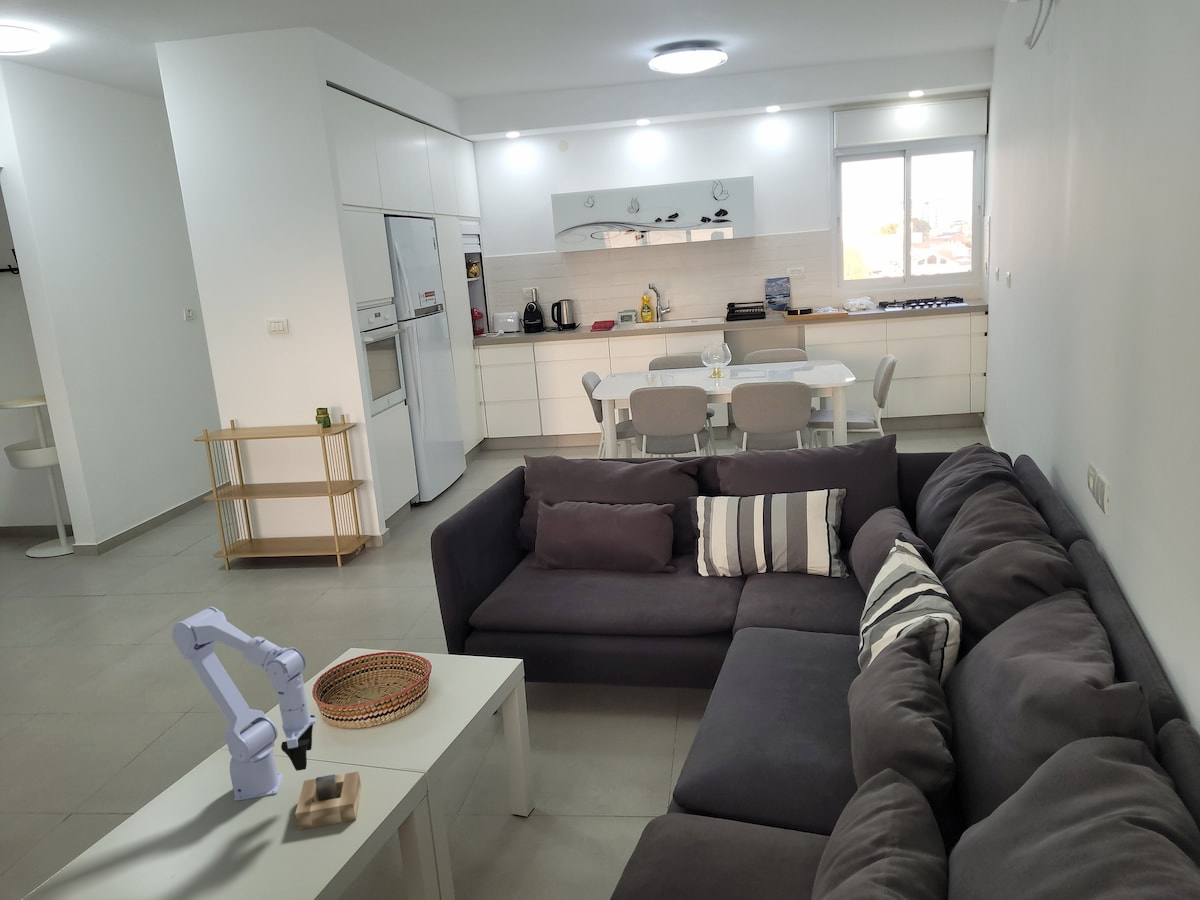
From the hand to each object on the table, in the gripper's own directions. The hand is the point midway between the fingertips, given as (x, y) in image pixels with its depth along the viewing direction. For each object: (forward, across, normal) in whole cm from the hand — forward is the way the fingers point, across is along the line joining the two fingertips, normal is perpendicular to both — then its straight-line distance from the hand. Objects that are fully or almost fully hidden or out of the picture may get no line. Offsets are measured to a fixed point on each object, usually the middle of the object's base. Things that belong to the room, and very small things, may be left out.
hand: (303, 759), depth 198 cm
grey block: (+9, -5, -5) cm, 12 cm away
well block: (+10, -5, -5) cm, 12 cm away
